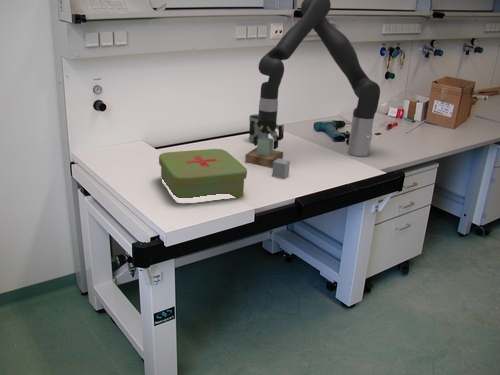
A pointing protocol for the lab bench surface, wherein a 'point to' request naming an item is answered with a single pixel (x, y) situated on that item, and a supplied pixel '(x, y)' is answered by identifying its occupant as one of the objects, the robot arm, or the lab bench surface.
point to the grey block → (281, 168)
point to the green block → (265, 146)
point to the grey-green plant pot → (256, 128)
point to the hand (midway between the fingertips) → (265, 147)
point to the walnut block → (263, 158)
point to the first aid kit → (202, 173)
